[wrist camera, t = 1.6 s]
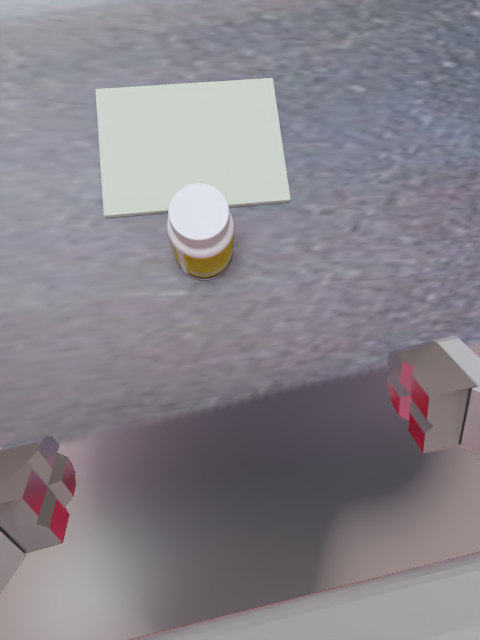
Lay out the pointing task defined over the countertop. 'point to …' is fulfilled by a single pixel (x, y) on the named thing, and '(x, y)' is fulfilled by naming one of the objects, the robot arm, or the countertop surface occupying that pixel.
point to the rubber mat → (189, 144)
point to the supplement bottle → (201, 230)
